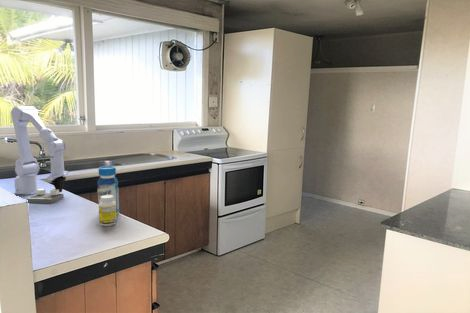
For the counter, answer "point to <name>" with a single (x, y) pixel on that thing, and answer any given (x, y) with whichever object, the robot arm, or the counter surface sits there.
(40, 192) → the switch tab
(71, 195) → the counter surface
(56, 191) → the switch tab
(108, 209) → the pill bottle
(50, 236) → the counter surface
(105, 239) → the counter surface
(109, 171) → the beverage bottle
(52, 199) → the switch panel
